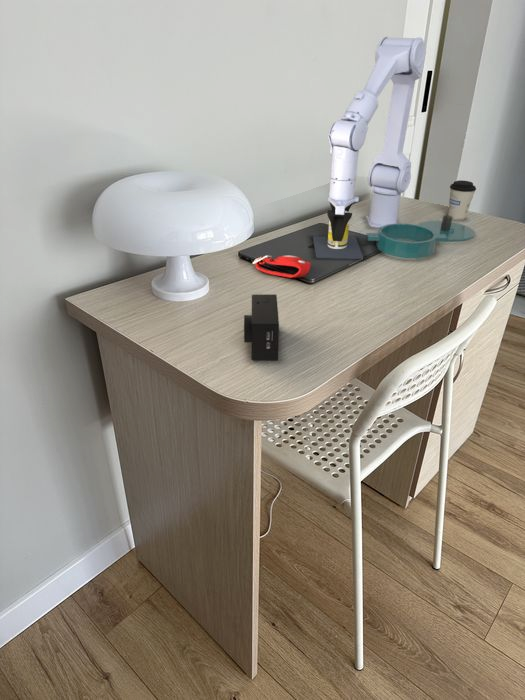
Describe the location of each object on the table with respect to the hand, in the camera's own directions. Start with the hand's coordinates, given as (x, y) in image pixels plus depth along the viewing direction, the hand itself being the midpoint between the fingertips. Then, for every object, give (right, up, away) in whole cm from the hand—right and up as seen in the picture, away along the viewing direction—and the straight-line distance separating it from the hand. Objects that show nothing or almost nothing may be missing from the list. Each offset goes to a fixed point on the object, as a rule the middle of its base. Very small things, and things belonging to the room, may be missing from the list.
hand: (337, 235), depth 123 cm
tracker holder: (-14, -10, -10) cm, 20 cm away
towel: (0, -3, +2) cm, 3 cm away
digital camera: (-19, -27, -36) cm, 49 cm away
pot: (+16, -3, +1) cm, 17 cm away
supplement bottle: (0, -3, +2) cm, 3 cm away
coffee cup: (+37, +10, +22) cm, 44 cm away
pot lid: (+30, +3, +11) cm, 32 cm away
